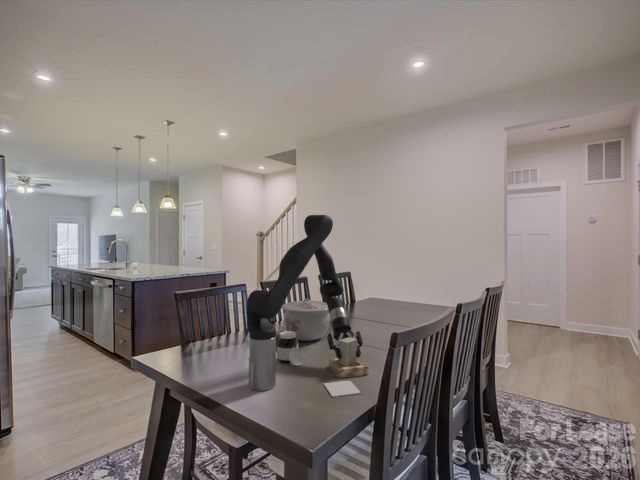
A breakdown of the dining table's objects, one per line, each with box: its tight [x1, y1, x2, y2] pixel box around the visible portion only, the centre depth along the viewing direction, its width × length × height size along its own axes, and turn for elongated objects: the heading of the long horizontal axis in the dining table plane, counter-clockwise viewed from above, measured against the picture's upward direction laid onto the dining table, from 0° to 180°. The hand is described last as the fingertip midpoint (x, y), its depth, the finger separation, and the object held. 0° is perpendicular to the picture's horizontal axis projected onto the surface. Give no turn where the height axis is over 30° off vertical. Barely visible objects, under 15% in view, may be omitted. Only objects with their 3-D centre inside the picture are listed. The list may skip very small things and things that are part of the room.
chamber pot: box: [281, 298, 331, 342], centre depth 175 cm, size 28×28×21 cm
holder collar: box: [328, 357, 369, 379], centre depth 130 cm, size 12×12×3 cm
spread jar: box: [276, 330, 304, 367], centre depth 139 cm, size 12×11×12 cm
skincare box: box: [338, 337, 357, 367], centre depth 130 cm, size 6×4×12 cm
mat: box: [323, 380, 362, 398], centre depth 114 cm, size 10×10×1 cm
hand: (349, 357), depth 129 cm, fingers closed on skincare box, 7 cm apart
